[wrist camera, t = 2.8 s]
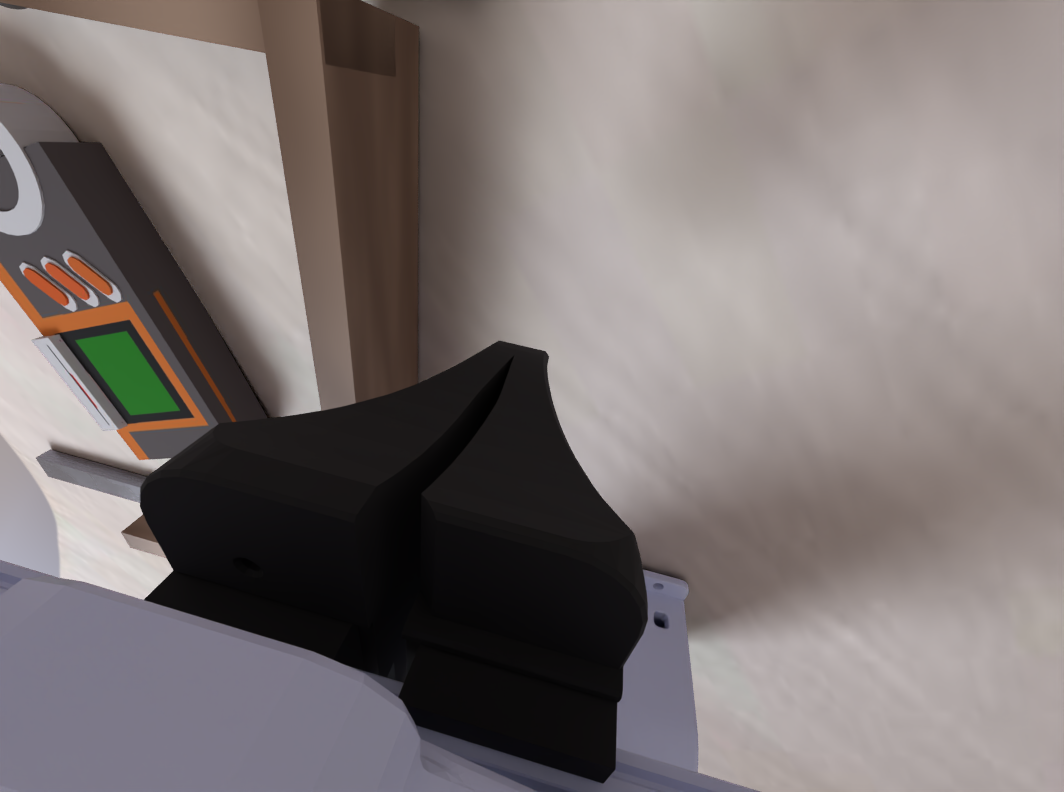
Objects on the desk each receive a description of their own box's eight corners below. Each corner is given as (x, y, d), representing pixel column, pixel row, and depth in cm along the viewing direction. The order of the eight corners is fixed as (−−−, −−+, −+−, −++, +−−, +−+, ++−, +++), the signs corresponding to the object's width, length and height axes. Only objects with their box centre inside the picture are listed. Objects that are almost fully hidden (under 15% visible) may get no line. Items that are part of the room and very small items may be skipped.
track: (496, -105, 10) (486, -121, 9) (446, 576, 25) (441, 589, 25) (-399, -242, 12) (-460, -263, 11) (62, 467, 27) (48, 476, 27)
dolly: (418, 21, 11) (313, -29, 8) (416, 546, 24) (377, 623, 20) (-15, -57, 12) (-296, -134, 9) (203, 486, 25) (129, 550, 21)
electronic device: (-40, 44, 12) (235, 466, 19) (76, 63, 15) (282, 429, 21) (-159, 108, 14) (130, 470, 21) (-38, 115, 16) (184, 436, 23)
